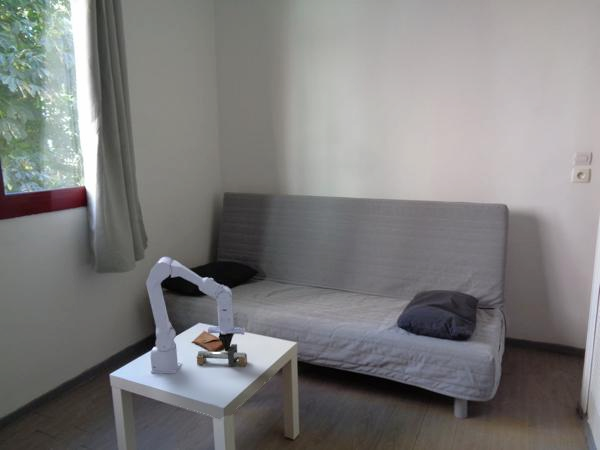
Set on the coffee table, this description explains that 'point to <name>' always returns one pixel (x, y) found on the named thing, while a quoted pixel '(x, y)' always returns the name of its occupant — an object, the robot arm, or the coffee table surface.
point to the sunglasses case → (209, 342)
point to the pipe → (221, 357)
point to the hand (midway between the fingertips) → (227, 350)
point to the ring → (232, 354)
